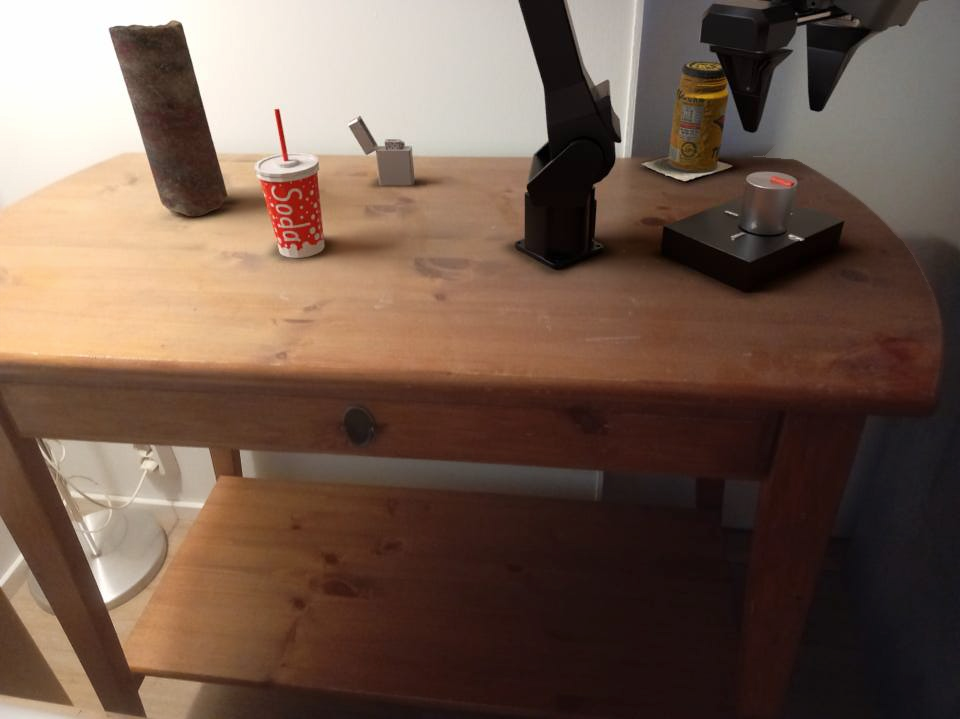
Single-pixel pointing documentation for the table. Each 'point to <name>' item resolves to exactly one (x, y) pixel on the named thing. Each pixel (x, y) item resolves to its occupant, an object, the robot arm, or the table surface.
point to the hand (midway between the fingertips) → (784, 120)
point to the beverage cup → (292, 199)
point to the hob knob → (767, 203)
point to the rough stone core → (170, 116)
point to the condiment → (696, 123)
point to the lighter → (386, 155)
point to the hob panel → (748, 244)
